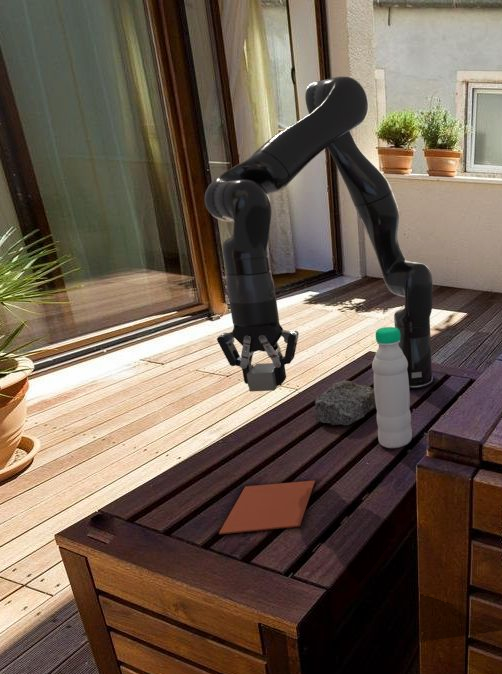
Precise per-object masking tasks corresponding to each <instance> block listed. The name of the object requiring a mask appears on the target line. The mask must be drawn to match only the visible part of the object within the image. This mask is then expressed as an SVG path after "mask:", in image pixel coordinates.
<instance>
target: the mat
mask: <svg viewBox="0 0 502 674" xmlns="http://www.w3.org/2000/svg"><path fill="white" fill-rule="evenodd" d="M315 483H316V480H304V481H294V482H282V483H281V482H279V483H271V484H269V483H268V484H260V485H259V484H258V485H247V486H244V488H243V489H242V492H241V493H240V495H239V497H238V499H237V500H236V502H235V504H234V505H233V508H232V509H231V511H230V512H229V514H228V516H227V518H226V520H225V521H224V524H223V525H222V527H221V529H220V530H219V531H218V535H229V534H239V533H247V532H248V533H250V532H257V531H268V530H279V529H289V528H298V527H301V525H302V521H303V519H304V515H305V513H306V510H307V507H308V504H309V502H310V498H311V495H312V492H313V489H314V487H315Z"/></svg>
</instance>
